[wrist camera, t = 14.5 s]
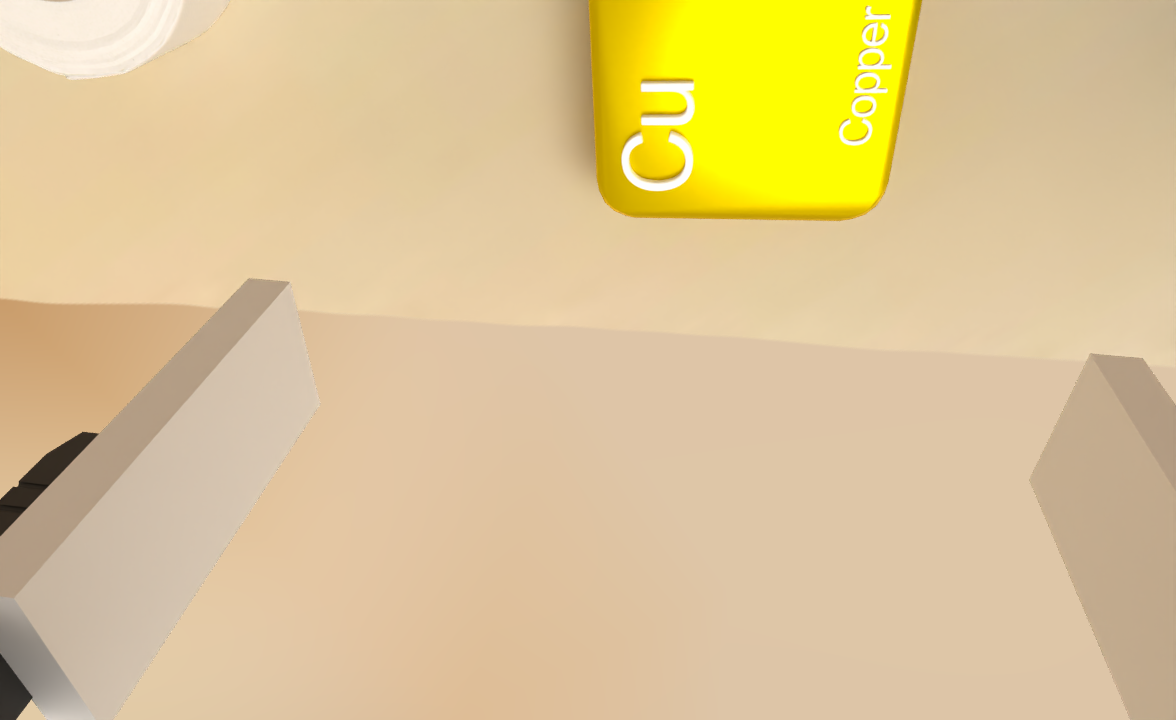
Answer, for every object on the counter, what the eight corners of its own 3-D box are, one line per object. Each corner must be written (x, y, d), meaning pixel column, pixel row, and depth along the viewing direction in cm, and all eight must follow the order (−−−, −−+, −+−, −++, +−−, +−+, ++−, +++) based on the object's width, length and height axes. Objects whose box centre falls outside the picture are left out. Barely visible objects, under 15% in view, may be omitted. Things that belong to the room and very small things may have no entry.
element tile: (870, 189, 45) (883, 228, 41) (606, 186, 47) (596, 223, 43) (923, -120, 36) (947, -107, 32) (595, -106, 38) (581, -93, 34)
